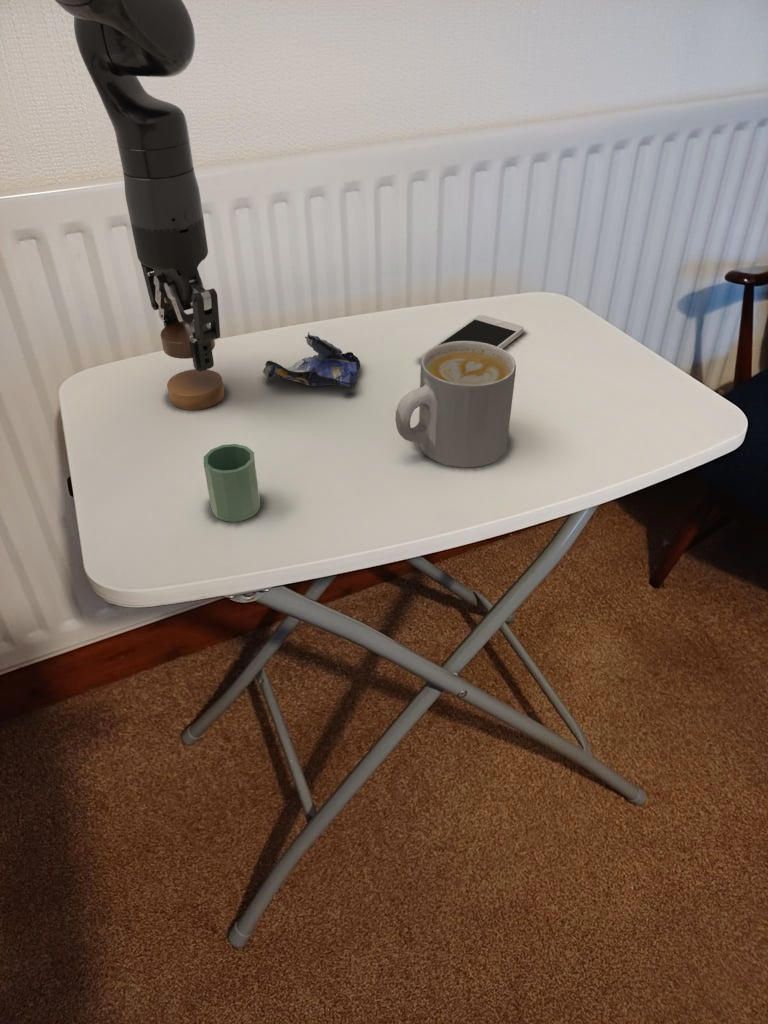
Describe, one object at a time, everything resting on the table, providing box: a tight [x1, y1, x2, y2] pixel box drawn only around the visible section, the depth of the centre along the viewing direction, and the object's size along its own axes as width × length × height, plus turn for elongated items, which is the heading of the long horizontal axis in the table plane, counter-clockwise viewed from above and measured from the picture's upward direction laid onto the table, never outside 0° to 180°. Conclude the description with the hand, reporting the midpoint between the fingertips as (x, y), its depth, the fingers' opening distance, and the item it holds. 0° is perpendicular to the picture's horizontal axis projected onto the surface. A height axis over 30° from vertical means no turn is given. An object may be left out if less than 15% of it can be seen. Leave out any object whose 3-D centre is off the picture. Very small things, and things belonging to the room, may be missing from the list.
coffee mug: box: [395, 341, 517, 468], centre depth 85 cm, size 13×10×10 cm
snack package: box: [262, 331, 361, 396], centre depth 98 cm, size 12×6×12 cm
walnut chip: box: [160, 320, 216, 360], centre depth 92 cm, size 6×6×2 cm
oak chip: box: [166, 368, 225, 411], centre depth 96 cm, size 7×7×2 cm
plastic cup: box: [203, 443, 261, 523], centre depth 77 cm, size 5×5×6 cm
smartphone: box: [422, 314, 525, 356], centre depth 106 cm, size 7×16×1 cm, turn 145°
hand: (191, 357), depth 93 cm, fingers closed on walnut chip, 6 cm apart
